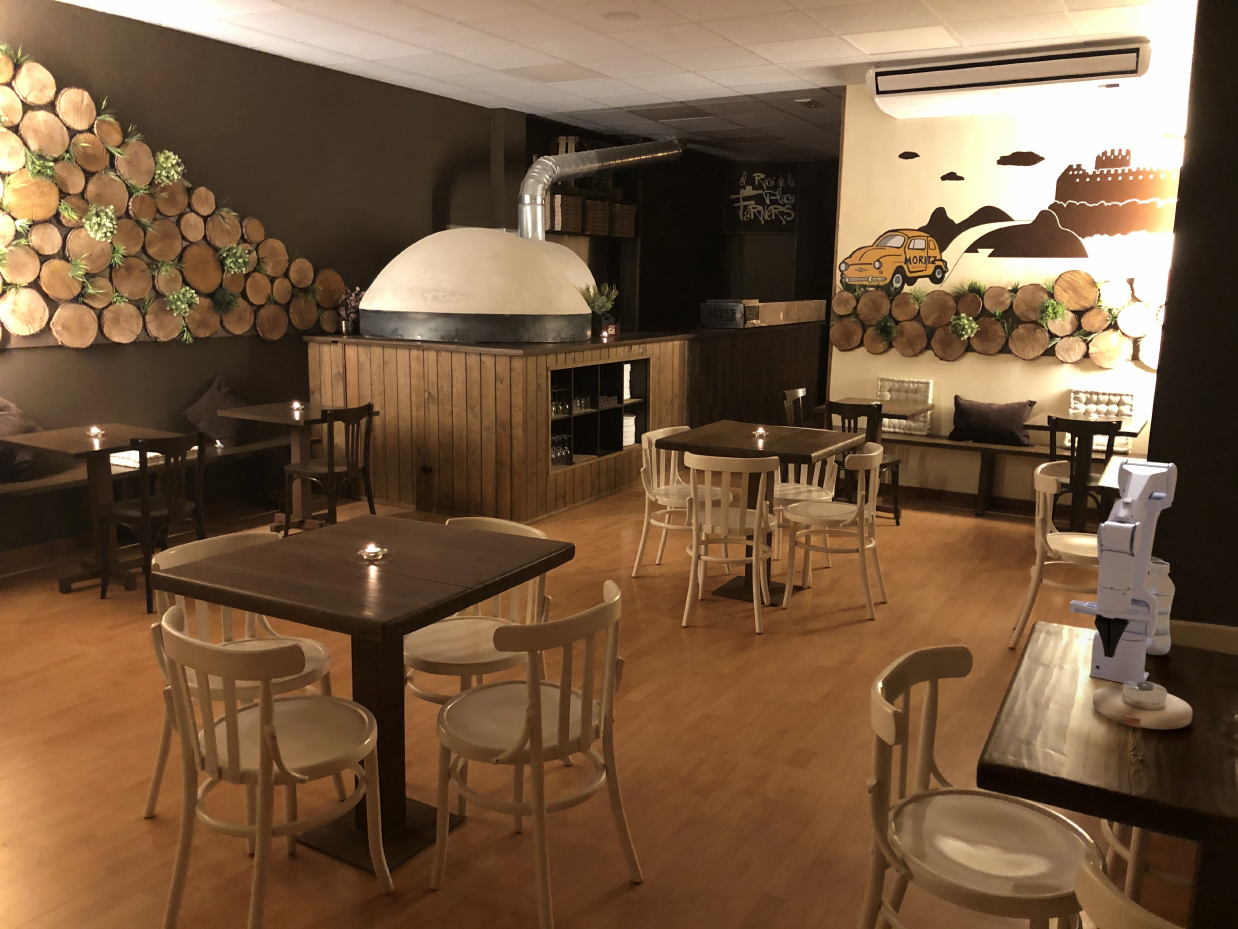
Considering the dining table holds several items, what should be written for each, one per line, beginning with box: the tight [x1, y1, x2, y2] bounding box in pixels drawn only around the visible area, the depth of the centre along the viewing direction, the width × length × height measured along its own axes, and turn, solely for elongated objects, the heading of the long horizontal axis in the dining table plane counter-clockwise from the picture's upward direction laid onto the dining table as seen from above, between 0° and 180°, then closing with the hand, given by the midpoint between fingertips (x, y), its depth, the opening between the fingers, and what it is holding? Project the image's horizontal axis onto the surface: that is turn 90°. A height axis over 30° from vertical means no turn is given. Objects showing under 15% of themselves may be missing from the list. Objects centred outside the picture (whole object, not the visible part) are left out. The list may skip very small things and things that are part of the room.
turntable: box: [1092, 684, 1194, 730], centre depth 177 cm, size 16×16×2 cm
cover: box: [1122, 680, 1168, 711], centre depth 177 cm, size 7×7×4 cm
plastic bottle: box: [1141, 561, 1176, 656], centre depth 207 cm, size 6×7×20 cm
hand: (1109, 655), depth 182 cm, fingers closed
